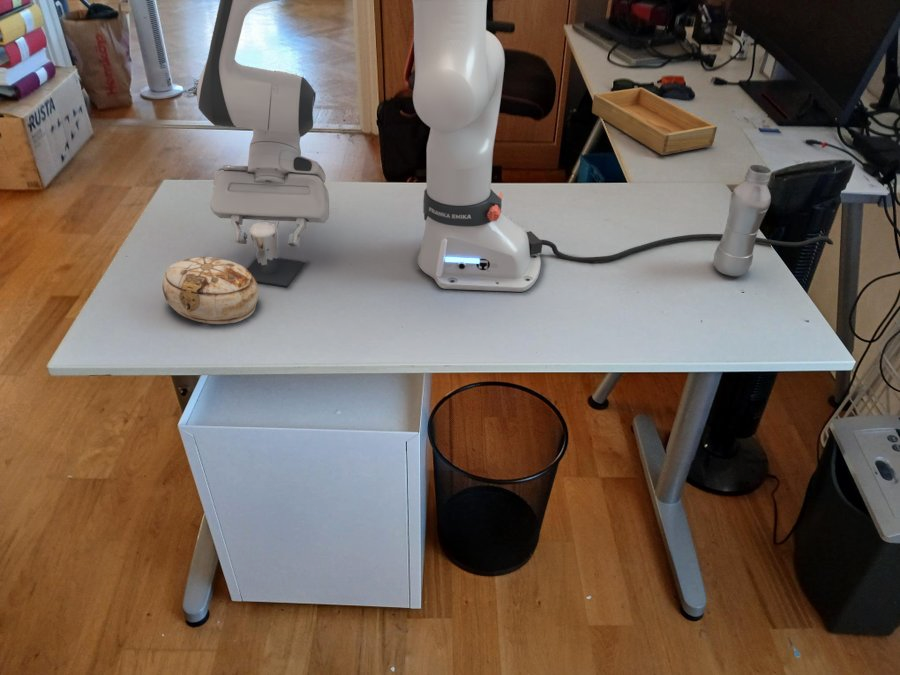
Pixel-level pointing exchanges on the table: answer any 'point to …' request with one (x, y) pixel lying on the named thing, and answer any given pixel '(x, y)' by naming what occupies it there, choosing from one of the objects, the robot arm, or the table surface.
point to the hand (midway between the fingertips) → (267, 244)
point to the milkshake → (265, 246)
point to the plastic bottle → (743, 222)
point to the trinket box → (210, 290)
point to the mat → (279, 278)
